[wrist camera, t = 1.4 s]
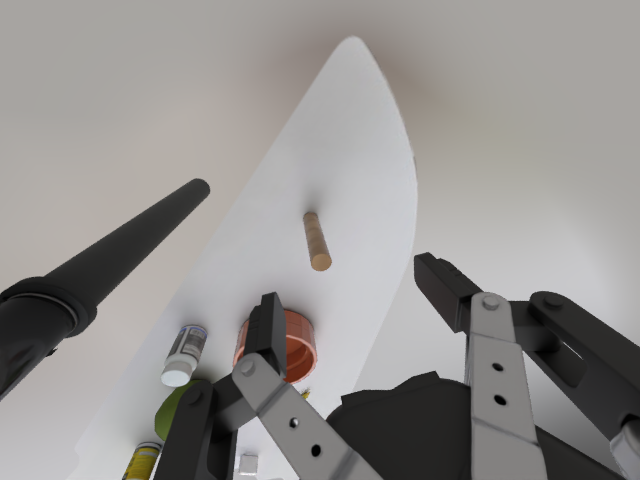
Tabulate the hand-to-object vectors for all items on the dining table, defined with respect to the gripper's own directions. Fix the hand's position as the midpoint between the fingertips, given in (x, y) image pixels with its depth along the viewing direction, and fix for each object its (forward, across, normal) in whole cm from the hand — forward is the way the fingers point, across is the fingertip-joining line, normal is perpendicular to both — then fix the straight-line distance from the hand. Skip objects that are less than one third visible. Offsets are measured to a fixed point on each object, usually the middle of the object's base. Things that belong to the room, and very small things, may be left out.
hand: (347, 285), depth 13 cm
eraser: (+22, +35, +72) cm, 83 cm away
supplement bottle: (+22, +54, +53) cm, 79 cm away
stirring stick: (+22, +1, +5) cm, 23 cm away
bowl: (+22, +13, +27) cm, 37 cm away
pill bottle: (+22, +27, +21) cm, 41 cm away
